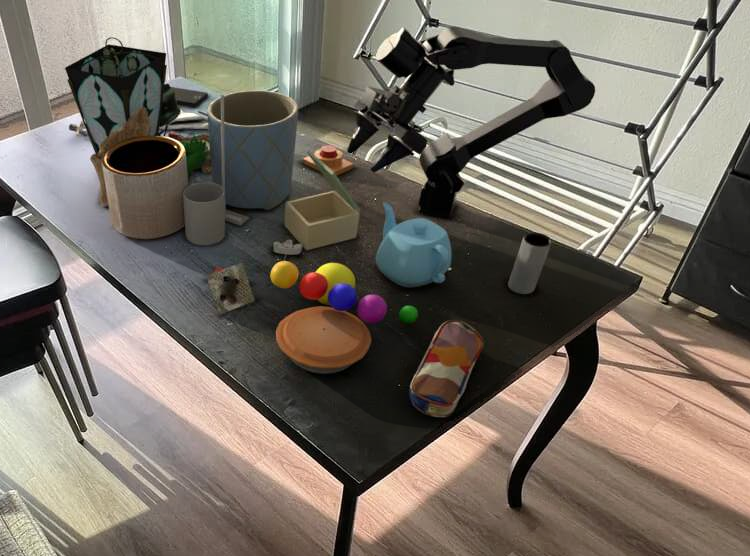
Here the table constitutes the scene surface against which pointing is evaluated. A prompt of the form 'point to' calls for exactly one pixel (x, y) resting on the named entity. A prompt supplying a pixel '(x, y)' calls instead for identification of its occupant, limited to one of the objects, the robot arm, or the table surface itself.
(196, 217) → the cup
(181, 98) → the cell phone
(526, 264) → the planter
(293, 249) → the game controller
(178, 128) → the feather
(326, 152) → the button
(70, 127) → the person figure
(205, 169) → the decorative book
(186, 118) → the cloth
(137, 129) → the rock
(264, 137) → the planter
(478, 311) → the table surface
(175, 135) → the denture
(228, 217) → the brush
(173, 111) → the headphones
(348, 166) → the button housing
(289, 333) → the pie
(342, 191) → the lid
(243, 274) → the tan textured box
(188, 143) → the toy
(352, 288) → the spheres
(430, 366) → the pencil case
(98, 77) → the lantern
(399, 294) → the table surface
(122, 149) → the planter
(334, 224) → the cream storage box
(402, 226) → the teapot
